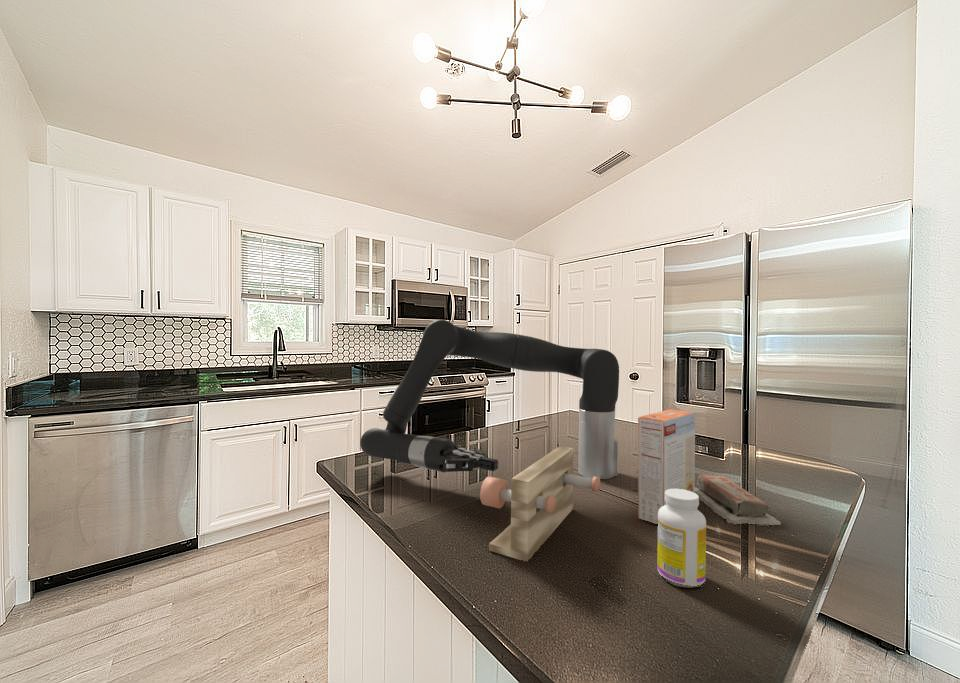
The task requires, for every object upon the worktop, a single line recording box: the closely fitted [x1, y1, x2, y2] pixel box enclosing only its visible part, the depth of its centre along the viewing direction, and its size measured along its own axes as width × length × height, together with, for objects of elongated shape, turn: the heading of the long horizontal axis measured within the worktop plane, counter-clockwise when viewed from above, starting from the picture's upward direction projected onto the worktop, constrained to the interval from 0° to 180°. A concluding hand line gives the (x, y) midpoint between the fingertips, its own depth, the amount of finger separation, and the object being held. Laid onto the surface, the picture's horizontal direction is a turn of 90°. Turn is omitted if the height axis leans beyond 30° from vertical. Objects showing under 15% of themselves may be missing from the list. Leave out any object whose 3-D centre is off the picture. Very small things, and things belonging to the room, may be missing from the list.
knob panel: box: [488, 445, 574, 563], centre depth 79 cm, size 7×24×13 cm, turn 150°
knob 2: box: [535, 460, 601, 493], centre depth 84 cm, size 13×5×5 cm, turn 60°
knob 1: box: [479, 476, 556, 514], centre depth 73 cm, size 13×5×5 cm, turn 60°
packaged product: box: [695, 474, 782, 526], centre depth 91 cm, size 18×5×10 cm
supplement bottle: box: [656, 489, 707, 586], centre depth 63 cm, size 7×7×13 cm
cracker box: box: [637, 408, 696, 524], centre depth 86 cm, size 14×6×21 cm, turn 131°
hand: (496, 465), depth 91 cm, fingers closed
